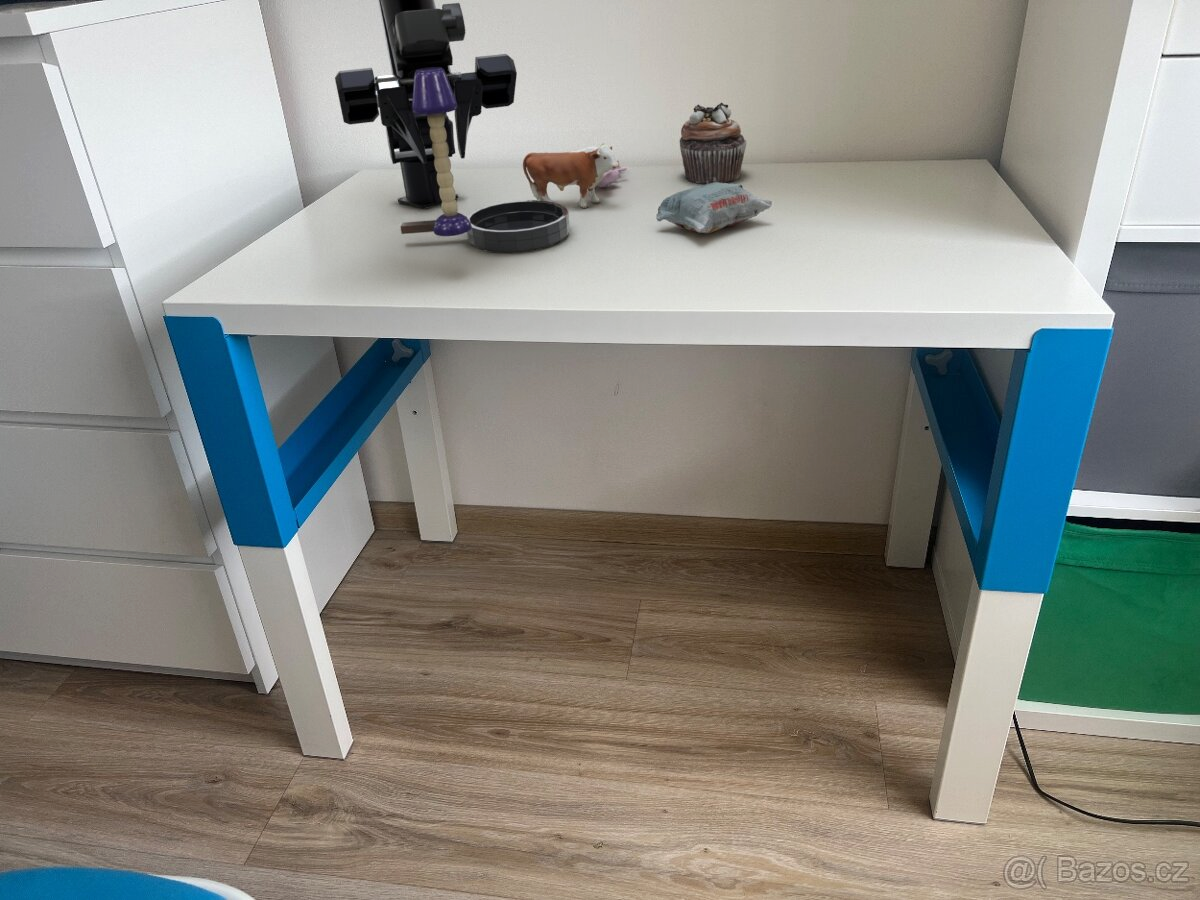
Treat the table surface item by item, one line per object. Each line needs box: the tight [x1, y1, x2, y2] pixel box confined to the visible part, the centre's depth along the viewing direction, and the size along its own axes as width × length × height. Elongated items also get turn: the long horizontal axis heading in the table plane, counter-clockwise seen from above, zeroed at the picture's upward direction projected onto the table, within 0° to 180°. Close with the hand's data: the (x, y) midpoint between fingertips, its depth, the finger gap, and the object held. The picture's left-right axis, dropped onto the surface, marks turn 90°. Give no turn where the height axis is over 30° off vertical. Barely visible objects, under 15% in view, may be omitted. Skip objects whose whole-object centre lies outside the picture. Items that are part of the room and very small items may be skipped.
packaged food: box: [655, 182, 773, 234], centre depth 108 cm, size 9×12×5 cm
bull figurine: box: [522, 144, 620, 209], centre depth 118 cm, size 4×13×8 cm, turn 76°
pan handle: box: [400, 219, 436, 235], centre depth 109 cm, size 8×2×1 cm, turn 93°
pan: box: [466, 199, 571, 254], centre depth 109 cm, size 13×13×3 cm
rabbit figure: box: [597, 142, 627, 189], centre depth 127 cm, size 6×6×15 cm
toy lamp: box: [412, 67, 472, 237], centre depth 93 cm, size 5×5×17 cm
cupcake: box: [679, 102, 748, 185], centre depth 126 cm, size 10×10×10 cm
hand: (443, 158), depth 92 cm, fingers closed on toy lamp, 4 cm apart
